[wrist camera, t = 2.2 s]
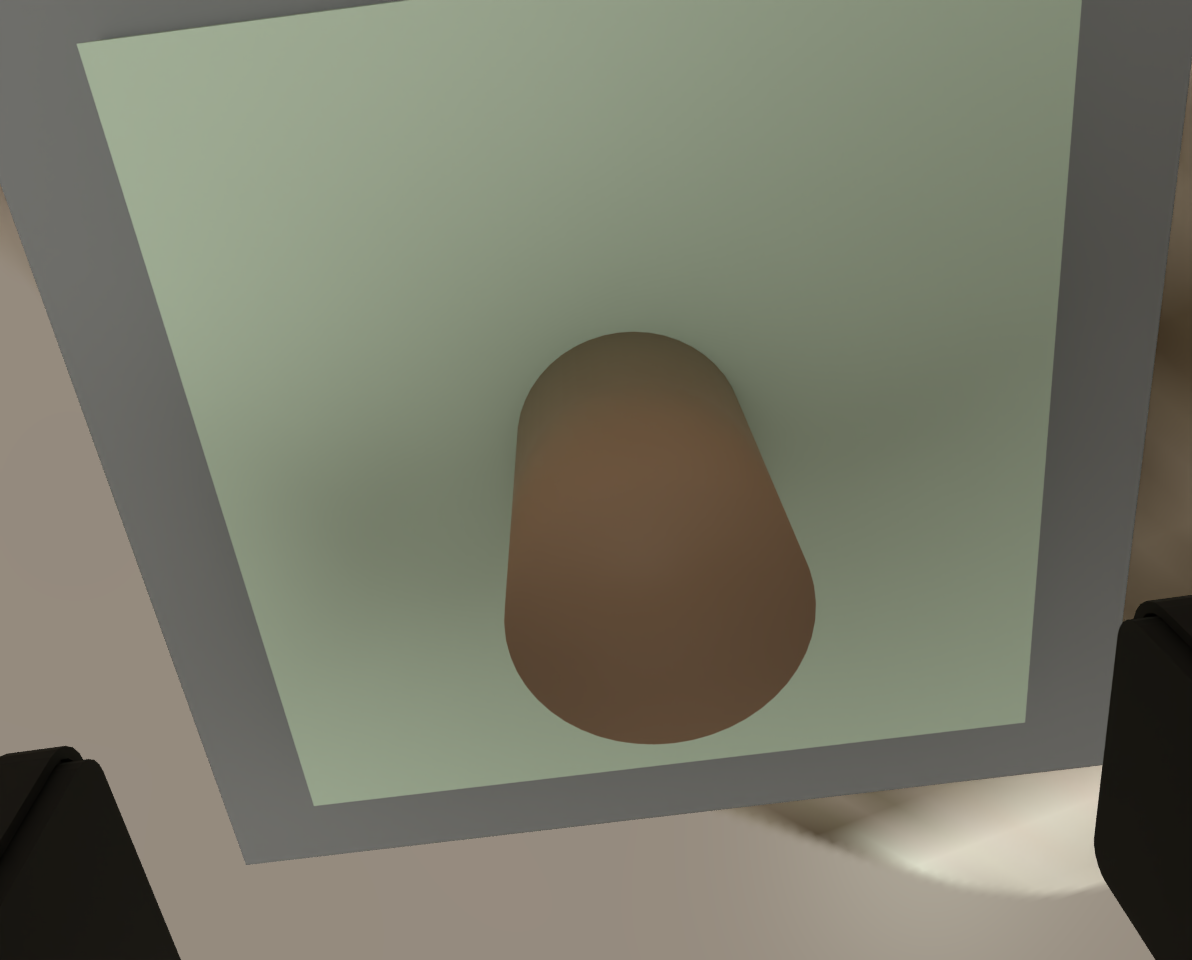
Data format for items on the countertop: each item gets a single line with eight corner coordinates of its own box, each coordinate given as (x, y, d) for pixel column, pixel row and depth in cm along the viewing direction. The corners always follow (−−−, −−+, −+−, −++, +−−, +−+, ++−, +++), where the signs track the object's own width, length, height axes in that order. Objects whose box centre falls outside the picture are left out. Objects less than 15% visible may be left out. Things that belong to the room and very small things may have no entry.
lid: (1061, -87, 14) (1360, -115, 9) (1007, 695, 20) (1170, 956, 15) (100, 39, 14) (-158, 85, 9) (322, 775, 20) (241, 1061, 15)
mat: (1208, -279, 14) (1234, -289, 13) (1090, 744, 21) (1104, 764, 21) (-80, -107, 14) (-105, -109, 13) (253, 842, 22) (245, 864, 21)
